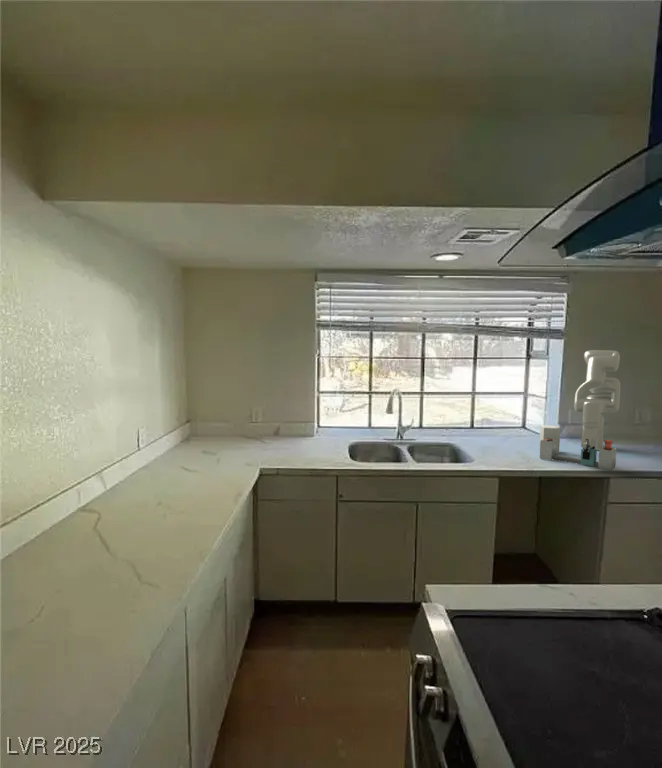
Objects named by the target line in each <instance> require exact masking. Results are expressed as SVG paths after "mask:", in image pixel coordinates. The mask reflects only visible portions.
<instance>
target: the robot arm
mask: <svg viewBox="0 0 662 768" xmlns="http://www.w3.org/2000/svg"><path fill="white" fill-rule="evenodd" d="M583 359H584V362H585V363H586V374H585V375H586V376H585V381H584V382H583V383H582V384H580V385H579V386H578V388H576V391H575V394H574V400H573V409H574V411H576V412H578V413H582V423H581V427H582V433H581V434H582V435H581V444H580V447H581V448H582V449H583V457H582V458H583V459H586V460H589V459H590V452H589V451H590V448H591V449H597V451H599V449H600V448H601V447H603V446H604V445H603V444H604V426H605V419H604V418H605V417H604V416H603V415H602V413H617V412H618V411H619V410H620V404H621V403H620V401H621V382H620V380H619V379H618V378H615V377H607V373H609V372H610V373H611V372H612V373H614V372H617V371H618V369H619V367H620V360H621V356H620V352H619V351H618V350H609V349H607V350H602V349H591V350H586V351H585V352H584V353H583ZM606 372H607V373H606ZM587 391H589V392H590V393H592V394H590V395H588V396H586V397H585V398H583V397H582V395H583V394H584V393H585V392H587Z"/></svg>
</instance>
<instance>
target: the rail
mask: <svg viewBox="0 0 662 768" xmlns="http://www.w3.org/2000/svg"><path fill="white" fill-rule="evenodd" d="M553 459H554V460H555V461H559V460H560V462H565V461H566V463H571V464H572V463H573V464H576V463H577V465H582V464H581V458H577V457H570V456H564V455H559V454H556V455H554V456H553ZM554 460H553V461H554ZM583 466H585V465H584V464H583ZM587 466H589V467H591V466H590V465H587ZM593 467H594V468H598V461H597V460H596V461H595V462H594V466H593Z"/></svg>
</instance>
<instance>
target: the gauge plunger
mask: <svg viewBox="0 0 662 768" xmlns="http://www.w3.org/2000/svg"><path fill="white" fill-rule="evenodd" d="M603 443H604V446H605V449H609V450H611V447H612V443H614V440H610V439H603Z"/></svg>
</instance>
